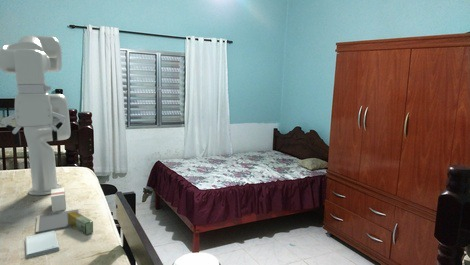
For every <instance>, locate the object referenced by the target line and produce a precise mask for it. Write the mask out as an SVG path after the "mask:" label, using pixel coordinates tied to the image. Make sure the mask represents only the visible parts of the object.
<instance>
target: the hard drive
mask: <svg viewBox="0 0 470 265" xmlns="http://www.w3.org/2000/svg"><path fill="white" fill-rule="evenodd" d="M56 233H57V232H56V230H53V231H48V232H43V233H37V234H34V235H30V236H26V237H25V238H24V239H25V254H26V259H30V258H33V257H36V256H41V255H46V254H49V253H53V252H57V251H60V246H59V242H58V237H57V234H56Z"/></svg>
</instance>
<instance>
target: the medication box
mask: <svg viewBox="0 0 470 265" xmlns="http://www.w3.org/2000/svg"><path fill="white" fill-rule="evenodd" d="M67 216H68V224H70V225H71V226H73V227H72V228H75V229H76V230H78V231H79V232H81V233H82V234H84V235H85V236H89V235H91V234H93V233H94V221H93V220H91V219H90V218H89V217H86V216H84V215H82V213H81V214H79V213H78V212H76V211H72V212H69V213H67Z"/></svg>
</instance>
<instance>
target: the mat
mask: <svg viewBox="0 0 470 265" xmlns="http://www.w3.org/2000/svg"><path fill="white" fill-rule="evenodd" d="M72 211H76V212H78V213H79V214H81V215H82V211H81V208H78V209H71V210H64V211H58V212H52V213H49V214H42V215H37V216H36V225H35V235H37V234H42V233H46V232H50V231H59V230H63V229H68V228H74V227H73V226H71V225H70V224H68V216H67V213H69V212H72Z"/></svg>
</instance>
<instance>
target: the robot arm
mask: <svg viewBox="0 0 470 265" xmlns="http://www.w3.org/2000/svg"><path fill="white" fill-rule="evenodd" d="M62 55H63V53H62V46H61V43H60V41H59V40H58V39H57V38H56V37H54V36H51V35H50V36H48V35H32V34H31V35H29V34H28V35H24V36H22V37H20V38H19V39H18V41H17V42H15V43H10V44H4V45H2V46H1V47H0V70H1V72H3V73H4V74H10V75H15V79H16V81H15V82H16V90H17V94H15V95H14V96H15V97H14V113H12V114H10V115H9V116H7V117H5V118H3V119H1V121H0V122H1V123H2V125H3V126H4V127H5V128H6V129H7V130H8V131H9V132H11V133H12V134H13V139H14V144H16V145H17V147H21V146H22V140H21V133H20V129H21V128H23V133H24V136H25V141H26V143H27V150H28V157H29V166H30V176H31V185H32V186H31V188H30V189H28V194H29V195H32V196H44V195H51V189H57V188H62V185H61V184H59V183H58V179H57V178H58V177H57V167H56V157H55V150H54V149H53V147H52V146H51V145H50V144H49V143H48V142H52V143H53V144H54V145H55V144H56V141H64V140H67V139H69V138H70V137H71V132H72V131H71V123H70V122H71V121H70V111H69V102H68V99H67V97H66V95H64V94H61V93H49V92H48V91H52V90H51V89H52V87H51V86H50V85H48V84H47V81H46V80H45V74H46V73H57V72H60V71H61V70H62V67H63V61H62V60H63V58H62V57H63V56H62ZM12 120H14V121H15V125H16V126H15V127H14V126H12V125H11V124H10V121H12Z"/></svg>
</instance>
